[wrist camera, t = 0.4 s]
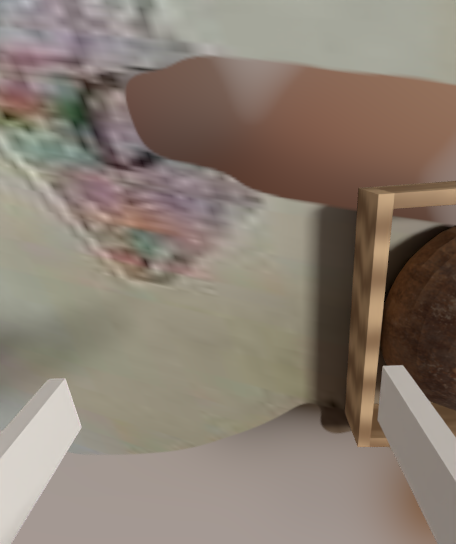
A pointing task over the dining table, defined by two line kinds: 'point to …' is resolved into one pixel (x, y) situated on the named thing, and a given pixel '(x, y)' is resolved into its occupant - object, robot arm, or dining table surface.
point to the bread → (425, 319)
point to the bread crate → (379, 299)
